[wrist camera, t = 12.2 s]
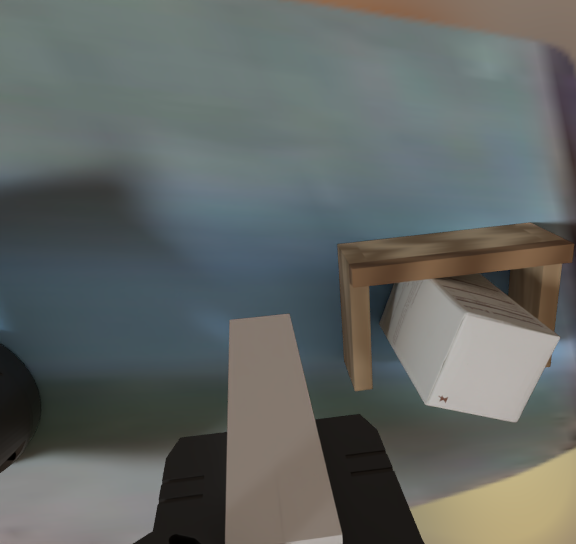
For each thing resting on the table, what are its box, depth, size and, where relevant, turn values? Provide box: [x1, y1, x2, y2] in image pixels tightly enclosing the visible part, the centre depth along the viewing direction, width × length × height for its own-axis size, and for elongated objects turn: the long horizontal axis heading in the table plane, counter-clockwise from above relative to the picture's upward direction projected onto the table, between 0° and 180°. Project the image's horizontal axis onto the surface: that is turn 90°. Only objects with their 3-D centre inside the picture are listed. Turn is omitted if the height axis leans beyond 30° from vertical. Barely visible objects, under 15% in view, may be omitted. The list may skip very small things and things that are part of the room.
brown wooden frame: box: [337, 223, 574, 391], centre depth 42 cm, size 17×12×6 cm
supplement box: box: [379, 273, 560, 422], centre depth 39 cm, size 7×7×13 cm
